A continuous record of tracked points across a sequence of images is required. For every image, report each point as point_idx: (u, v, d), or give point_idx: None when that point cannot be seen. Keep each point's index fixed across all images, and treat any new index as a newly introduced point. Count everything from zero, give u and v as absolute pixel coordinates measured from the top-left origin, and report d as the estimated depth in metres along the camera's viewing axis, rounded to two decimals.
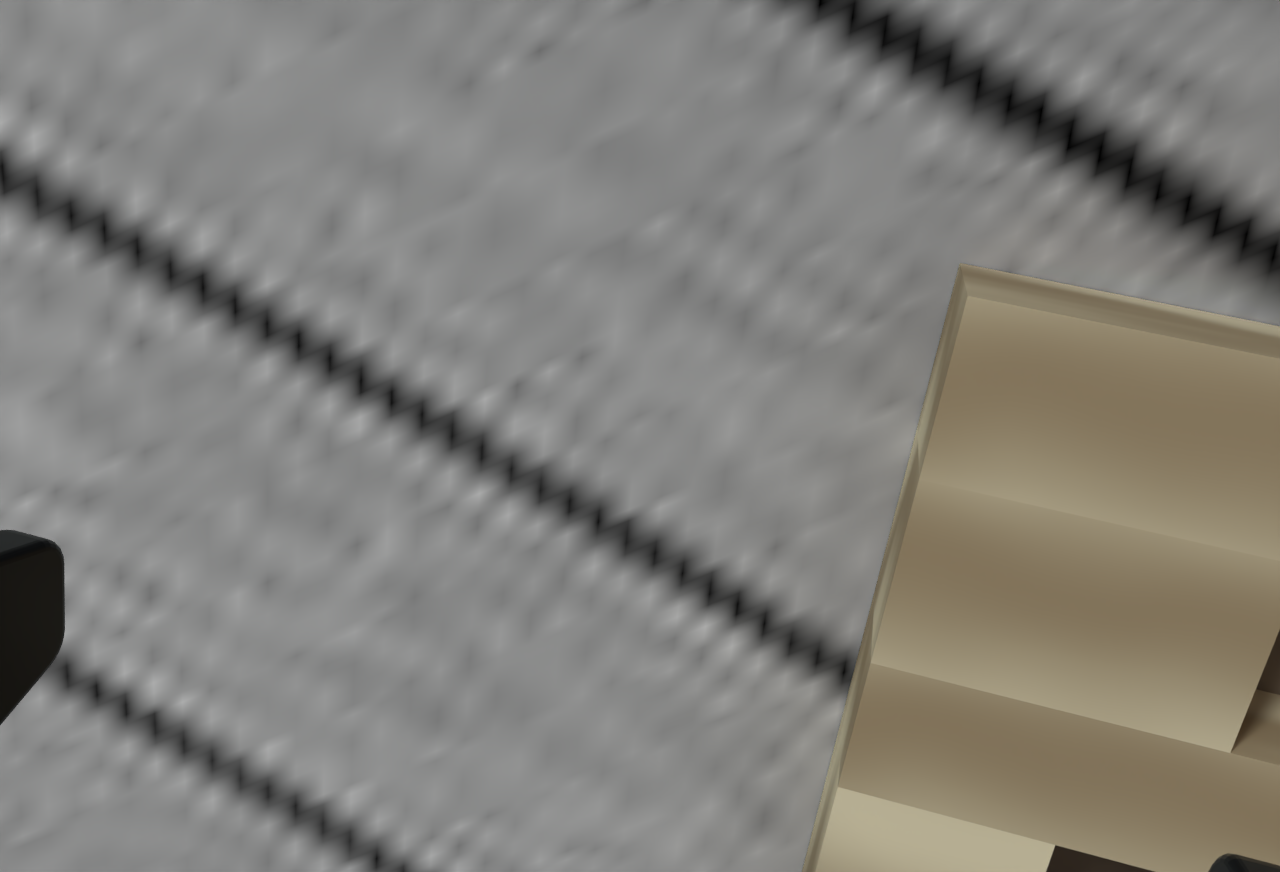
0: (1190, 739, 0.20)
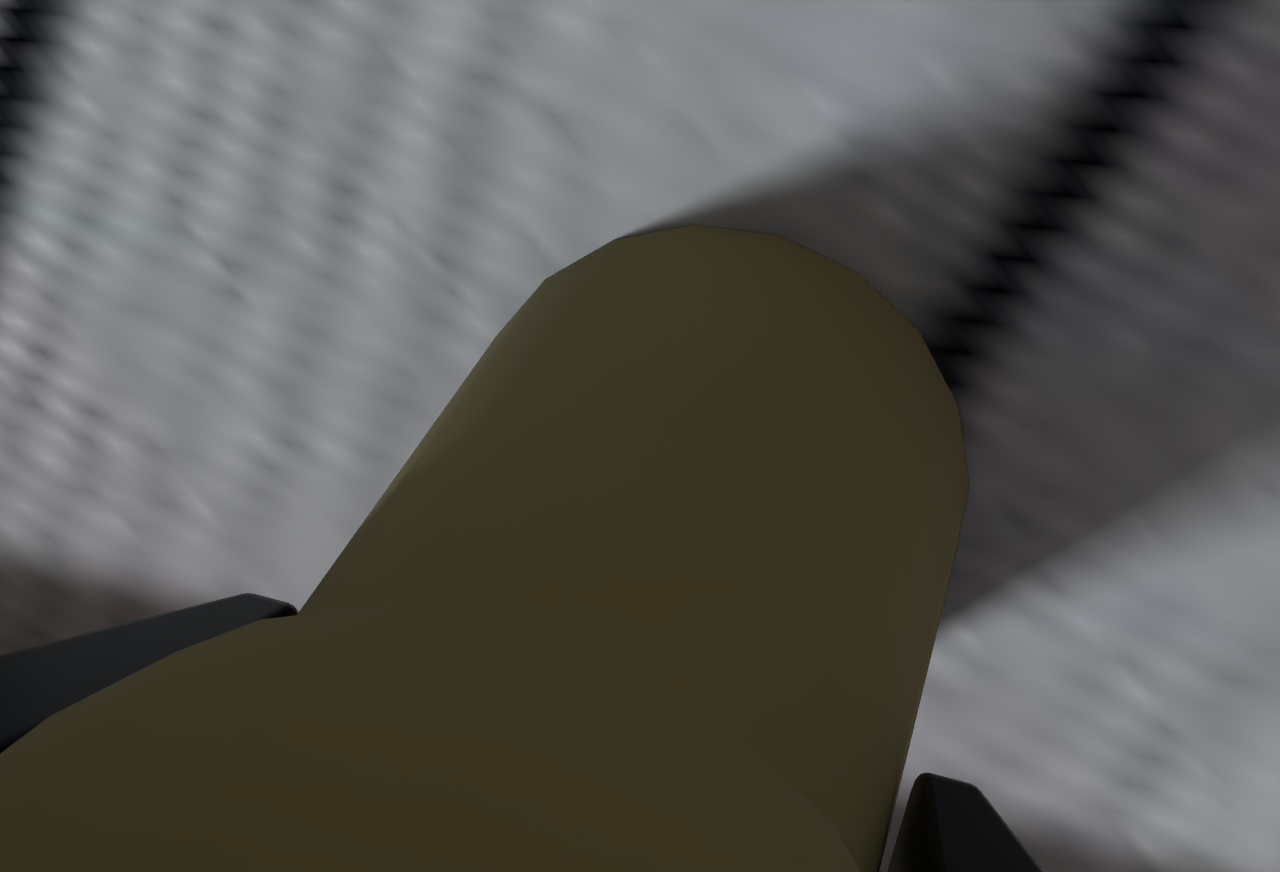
0: None
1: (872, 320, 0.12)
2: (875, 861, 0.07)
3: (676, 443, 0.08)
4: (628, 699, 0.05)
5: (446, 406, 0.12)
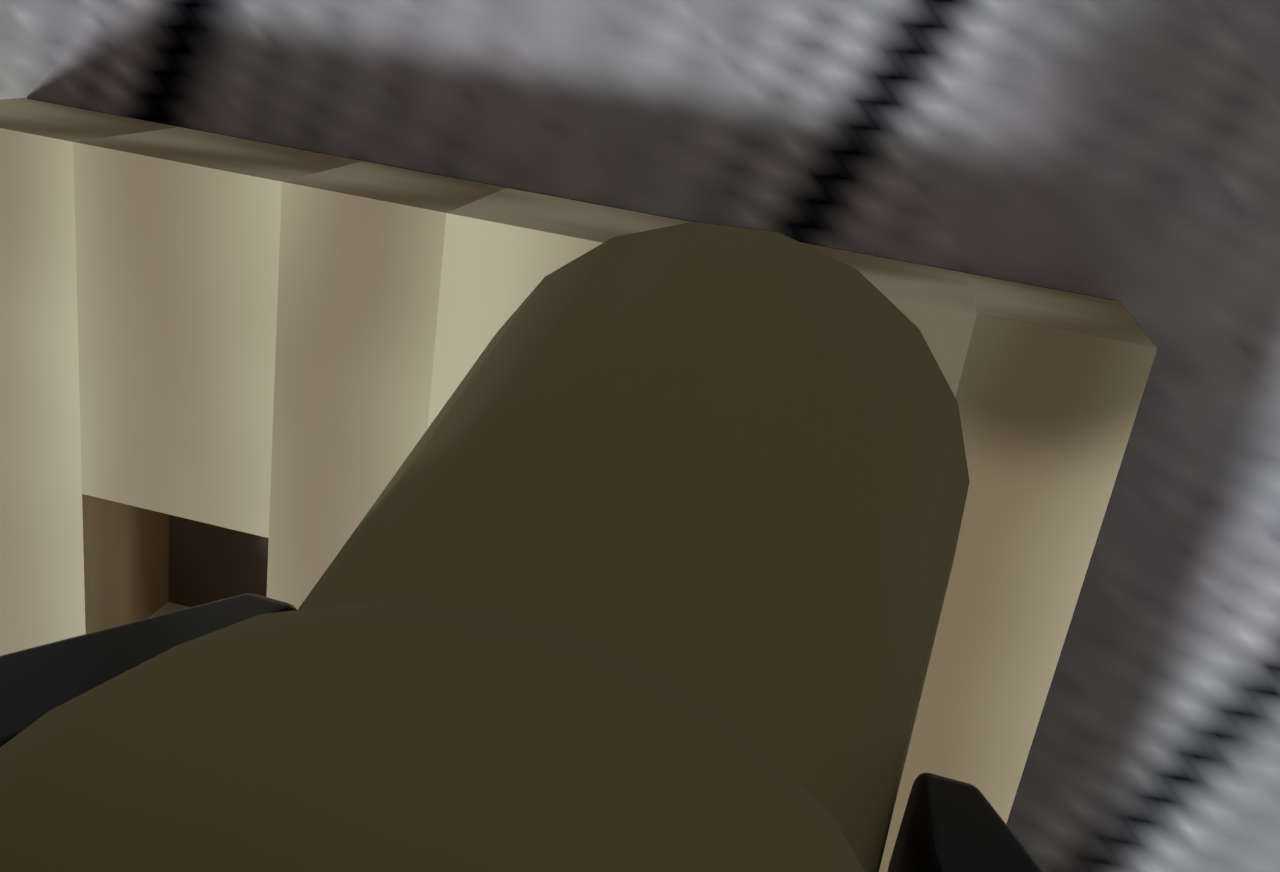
0: None
1: (871, 316, 0.12)
2: (876, 857, 0.07)
3: (677, 438, 0.08)
4: (625, 692, 0.05)
5: (446, 403, 0.12)
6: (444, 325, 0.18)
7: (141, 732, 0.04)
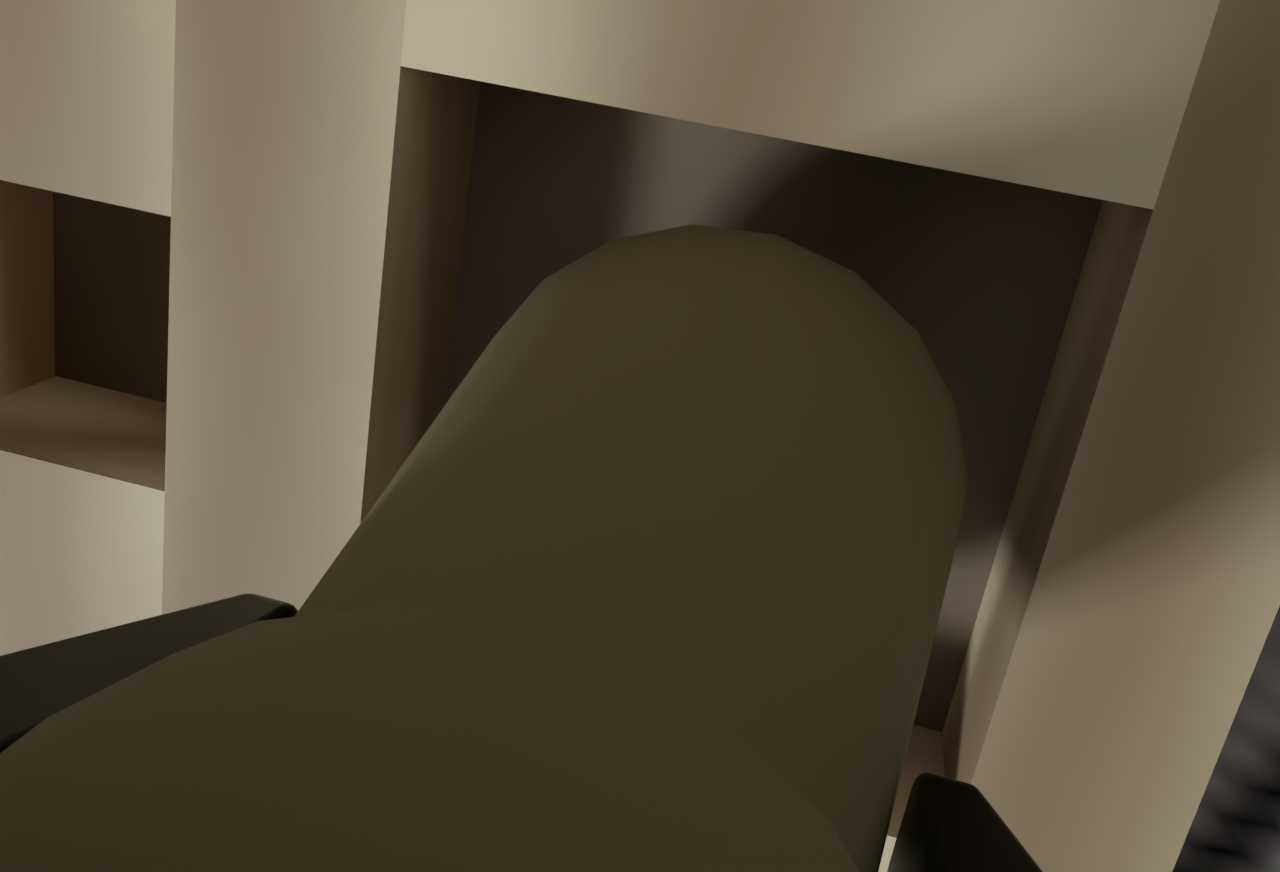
0: (169, 530, 0.16)
1: (870, 319, 0.12)
2: (874, 862, 0.07)
3: (675, 443, 0.08)
4: (625, 700, 0.05)
5: (444, 406, 0.12)
6: None
7: (138, 742, 0.04)
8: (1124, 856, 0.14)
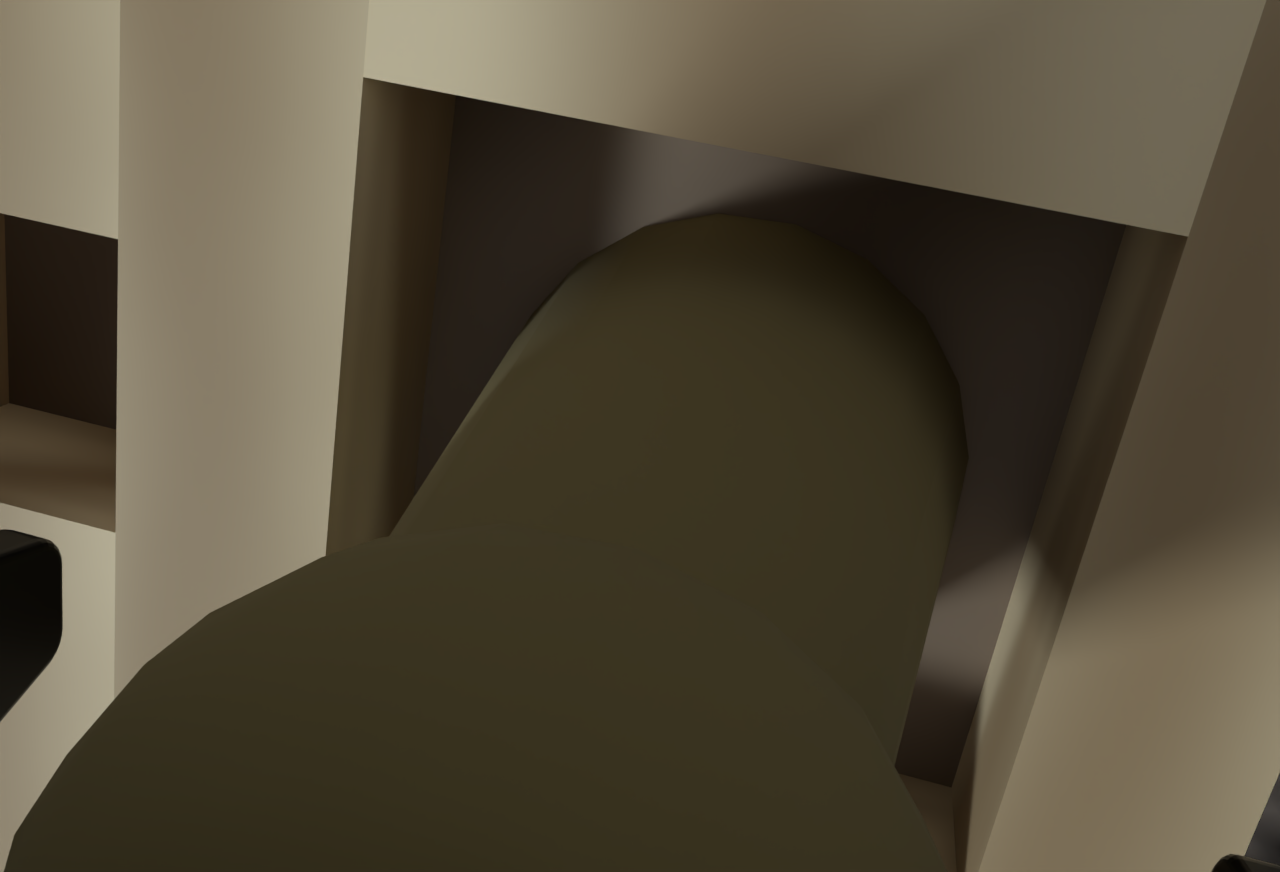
0: (121, 573, 0.14)
1: (881, 303, 0.13)
2: None
3: (715, 404, 0.09)
4: (698, 598, 0.06)
5: (491, 377, 0.13)
6: None
7: (316, 615, 0.05)
8: None
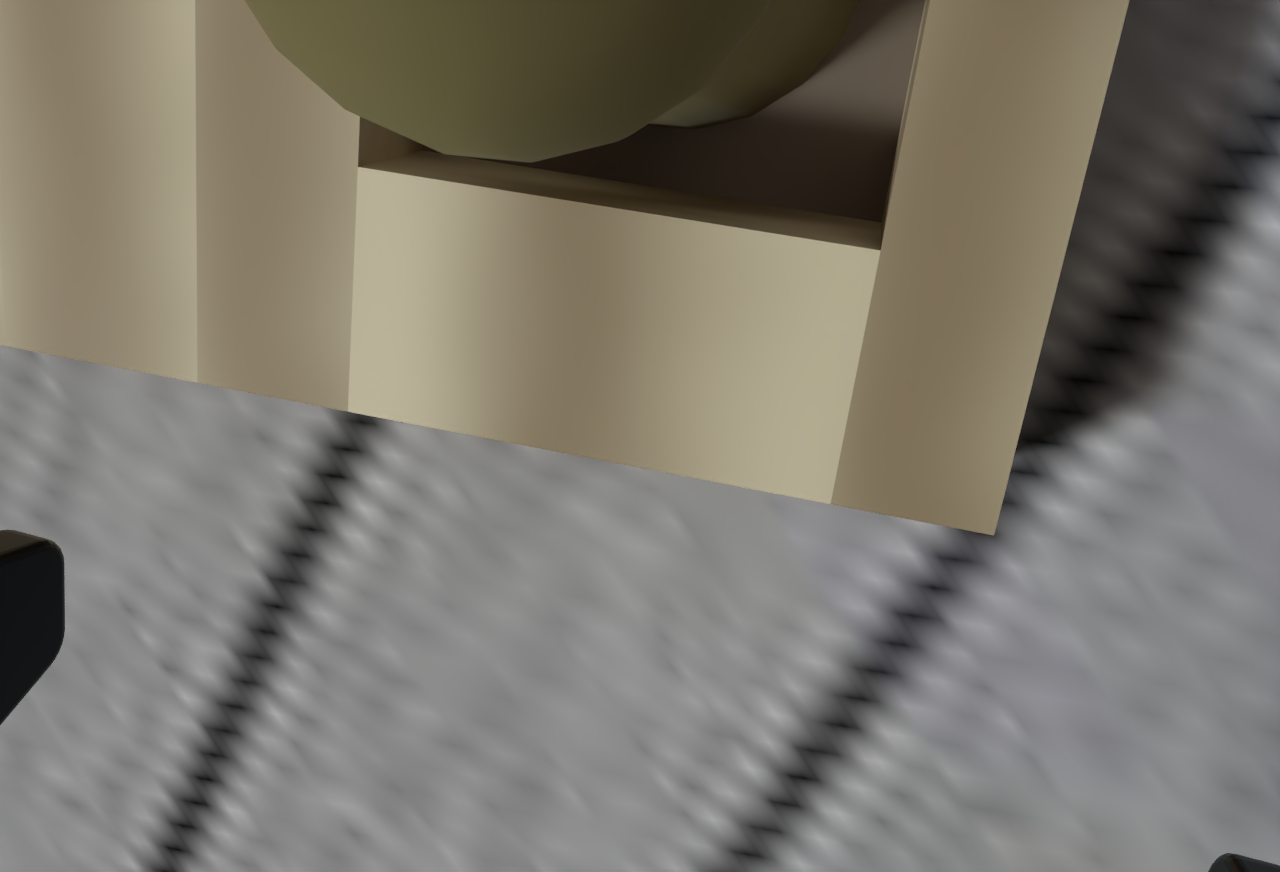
0: (200, 35, 0.18)
1: None
2: None
3: None
4: None
5: None
6: None
7: None
8: (1027, 230, 0.16)
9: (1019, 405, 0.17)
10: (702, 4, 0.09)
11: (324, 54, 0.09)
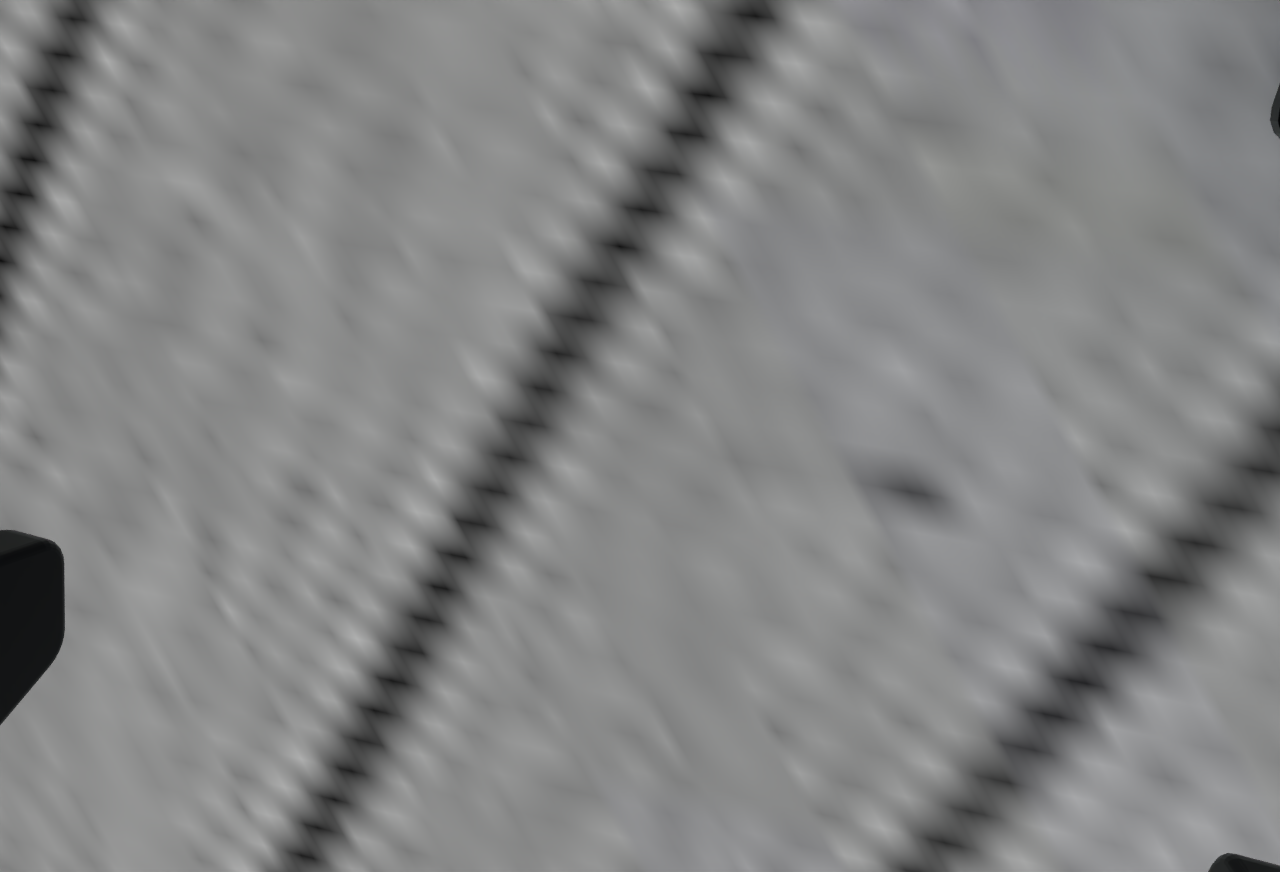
0: None
1: None
2: None
3: None
4: None
5: None
6: None
7: None
8: None
9: None
10: None
11: None
